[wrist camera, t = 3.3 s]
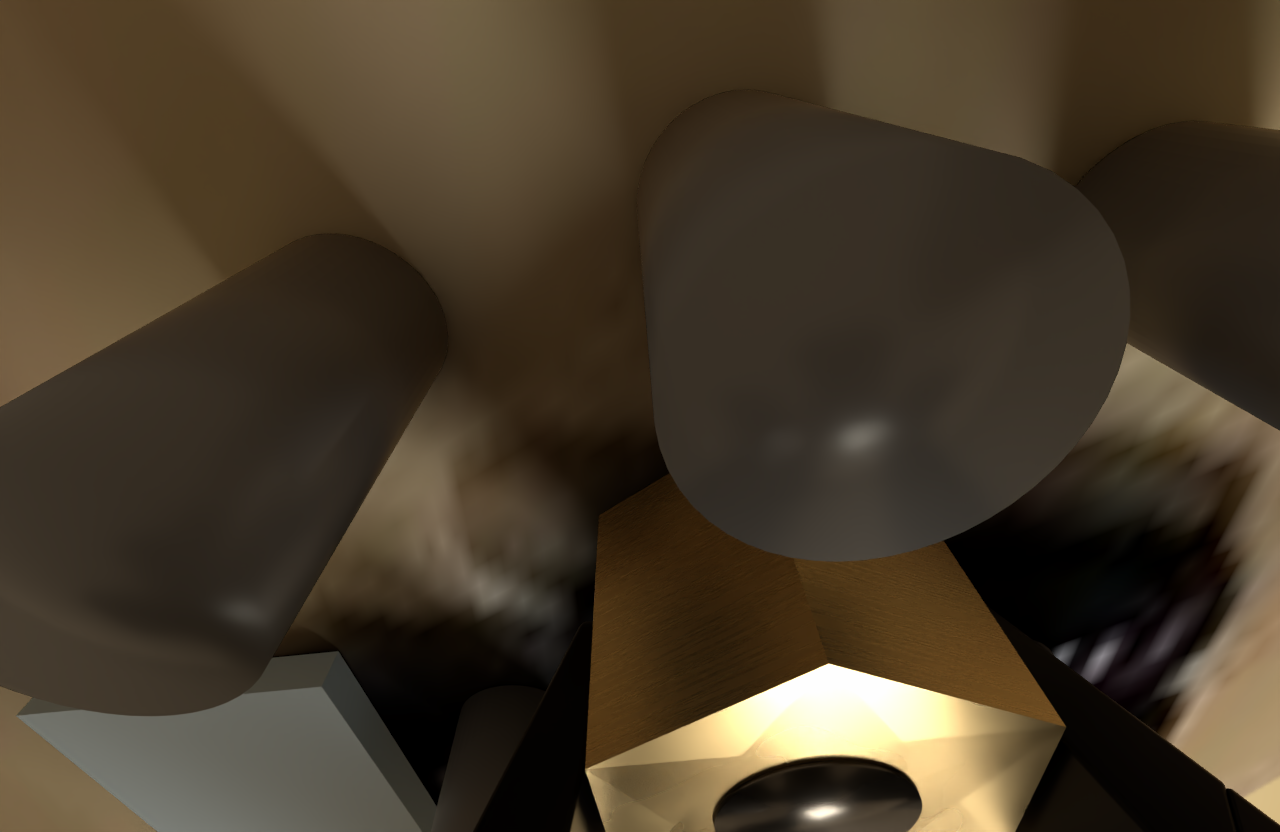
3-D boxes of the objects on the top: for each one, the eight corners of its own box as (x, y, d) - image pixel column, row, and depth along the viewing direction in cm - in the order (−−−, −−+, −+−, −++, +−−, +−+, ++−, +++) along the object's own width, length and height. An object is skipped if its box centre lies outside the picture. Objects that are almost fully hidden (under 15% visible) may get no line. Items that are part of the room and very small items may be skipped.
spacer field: (1028, 725, 14) (1198, 1010, 10) (487, 773, 15) (433, 1060, 11) (1334, 8, 7) (2644, -81, 2) (183, 166, 7) (-472, 331, 3)
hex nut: (878, 650, 12) (986, 902, 8) (631, 673, 12) (635, 928, 8) (917, 407, 9) (1116, 644, 5) (584, 444, 9) (557, 695, 5)
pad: (450, 827, 16) (442, 861, 16) (232, 845, 17) (216, 879, 16) (338, 651, 12) (321, 686, 11) (49, 679, 12) (15, 715, 12)
